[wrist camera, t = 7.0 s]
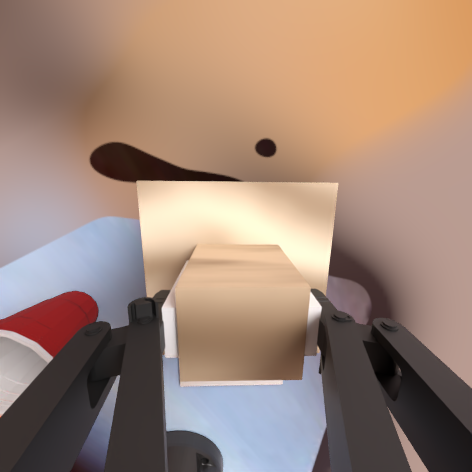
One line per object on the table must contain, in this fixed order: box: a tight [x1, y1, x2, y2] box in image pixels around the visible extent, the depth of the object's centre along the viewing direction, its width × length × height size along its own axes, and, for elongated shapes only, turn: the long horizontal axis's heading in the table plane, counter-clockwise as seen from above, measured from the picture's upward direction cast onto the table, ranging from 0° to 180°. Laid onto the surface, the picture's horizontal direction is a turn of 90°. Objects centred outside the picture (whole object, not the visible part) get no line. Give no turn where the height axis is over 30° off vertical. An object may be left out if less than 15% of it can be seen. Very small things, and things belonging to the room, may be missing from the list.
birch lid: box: [137, 181, 338, 382], centre depth 14 cm, size 14×14×8 cm
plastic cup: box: [0, 291, 98, 417], centre depth 27 cm, size 11×11×12 cm
